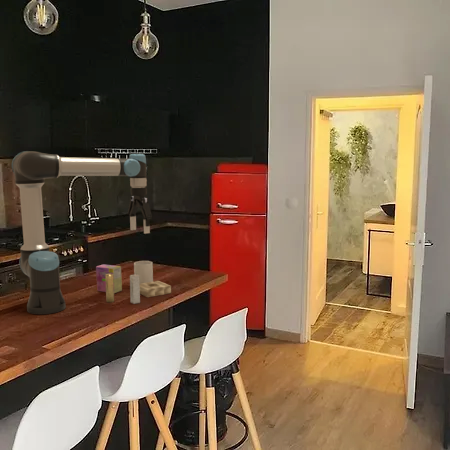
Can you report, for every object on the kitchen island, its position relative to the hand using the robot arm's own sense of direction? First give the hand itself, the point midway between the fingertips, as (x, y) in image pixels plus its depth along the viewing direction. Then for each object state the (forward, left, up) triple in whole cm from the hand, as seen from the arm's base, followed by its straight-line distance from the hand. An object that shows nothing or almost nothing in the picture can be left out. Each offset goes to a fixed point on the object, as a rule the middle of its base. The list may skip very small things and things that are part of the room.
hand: (139, 231), depth 254 cm
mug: (+3, +2, -27) cm, 27 cm away
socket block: (-1, -14, -27) cm, 30 cm away
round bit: (-23, -16, -27) cm, 39 cm away
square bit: (-15, -24, -27) cm, 39 cm away
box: (-16, +1, -27) cm, 31 cm away
